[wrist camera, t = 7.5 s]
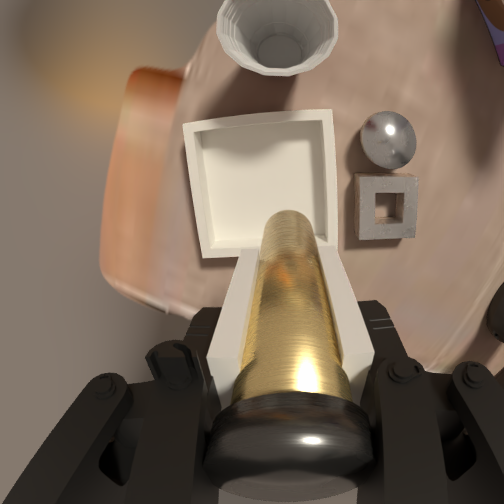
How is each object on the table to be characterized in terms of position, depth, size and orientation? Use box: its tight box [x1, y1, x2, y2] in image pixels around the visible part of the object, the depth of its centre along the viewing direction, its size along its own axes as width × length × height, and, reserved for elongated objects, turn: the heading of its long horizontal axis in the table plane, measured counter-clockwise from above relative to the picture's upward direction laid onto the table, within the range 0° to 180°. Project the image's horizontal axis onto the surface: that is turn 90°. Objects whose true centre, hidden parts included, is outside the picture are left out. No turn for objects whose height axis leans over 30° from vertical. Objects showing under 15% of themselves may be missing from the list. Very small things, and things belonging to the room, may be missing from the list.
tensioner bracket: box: [354, 111, 418, 240], centre depth 32 cm, size 16×8×4 cm, turn 6°
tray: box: [183, 109, 338, 258], centre depth 34 cm, size 17×17×4 cm
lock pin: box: [202, 210, 377, 502], centre depth 11 cm, size 4×4×14 cm
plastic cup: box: [216, 0, 338, 76], centre depth 24 cm, size 11×11×12 cm
